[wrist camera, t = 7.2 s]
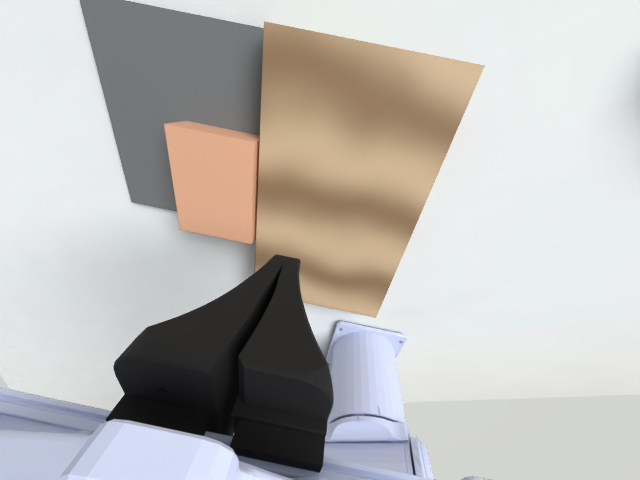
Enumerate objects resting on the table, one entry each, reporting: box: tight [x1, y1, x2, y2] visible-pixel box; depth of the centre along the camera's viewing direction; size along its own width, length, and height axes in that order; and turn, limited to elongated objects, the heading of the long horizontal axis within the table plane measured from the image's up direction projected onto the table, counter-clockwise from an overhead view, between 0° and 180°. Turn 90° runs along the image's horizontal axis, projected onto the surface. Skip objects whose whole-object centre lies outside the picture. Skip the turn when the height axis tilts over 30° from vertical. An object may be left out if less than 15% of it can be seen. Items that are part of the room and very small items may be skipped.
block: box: [164, 121, 260, 244], centre depth 19 cm, size 8×6×2 cm
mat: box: [80, 0, 264, 211], centre depth 18 cm, size 14×12×1 cm
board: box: [255, 22, 484, 318], centre depth 19 cm, size 20×12×2 cm, turn 170°
